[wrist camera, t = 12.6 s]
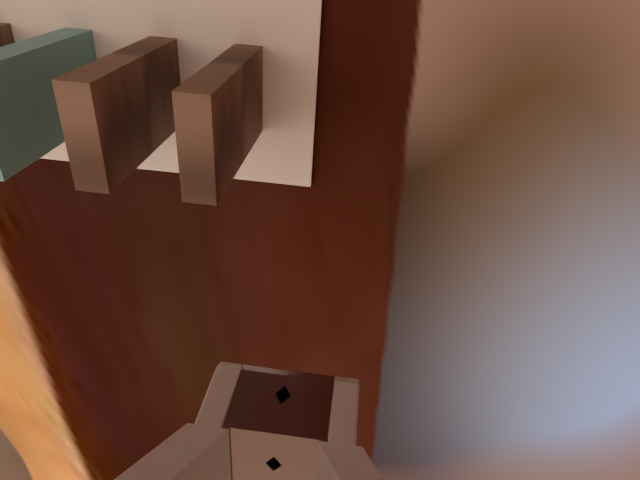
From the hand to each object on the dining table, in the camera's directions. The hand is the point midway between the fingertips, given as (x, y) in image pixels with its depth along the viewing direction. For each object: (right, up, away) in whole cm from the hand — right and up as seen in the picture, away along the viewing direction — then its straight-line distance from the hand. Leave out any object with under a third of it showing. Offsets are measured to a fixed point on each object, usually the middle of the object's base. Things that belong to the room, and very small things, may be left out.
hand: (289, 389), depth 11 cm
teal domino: (-13, +13, +19) cm, 27 cm away
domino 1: (-8, +13, +19) cm, 25 cm away
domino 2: (-3, +12, +19) cm, 23 cm away
